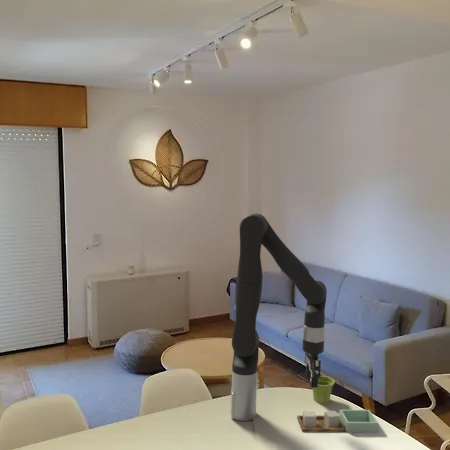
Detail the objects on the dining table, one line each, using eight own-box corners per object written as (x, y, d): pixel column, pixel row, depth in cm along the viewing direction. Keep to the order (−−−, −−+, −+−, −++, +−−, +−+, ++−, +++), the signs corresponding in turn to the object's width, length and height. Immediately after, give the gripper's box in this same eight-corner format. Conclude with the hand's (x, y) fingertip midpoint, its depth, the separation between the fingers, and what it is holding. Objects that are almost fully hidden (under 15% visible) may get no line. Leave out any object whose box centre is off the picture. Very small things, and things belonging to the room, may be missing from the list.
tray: (302, 433, 178) (302, 429, 178) (297, 419, 188) (297, 415, 188) (344, 433, 179) (344, 429, 179) (337, 419, 189) (337, 415, 189)
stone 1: (304, 427, 181) (305, 416, 181) (302, 421, 185) (303, 411, 185) (316, 427, 181) (316, 416, 181) (313, 421, 185) (314, 411, 185)
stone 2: (328, 427, 181) (328, 416, 181) (323, 422, 185) (324, 411, 185) (339, 426, 182) (339, 416, 182) (334, 421, 186) (334, 410, 186)
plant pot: (335, 407, 199) (336, 385, 198) (311, 406, 199) (312, 384, 198) (331, 396, 208) (332, 376, 207) (307, 396, 208) (308, 375, 207)
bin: (346, 433, 178) (347, 422, 178) (339, 420, 188) (339, 409, 188) (377, 433, 179) (378, 422, 178) (368, 420, 189) (369, 409, 188)
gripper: (299, 331, 187) (297, 374, 189) (307, 344, 173) (305, 390, 175) (319, 331, 188) (317, 374, 189) (329, 344, 174) (326, 390, 175)
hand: (311, 382), depth 182 cm, fingers open, 8 cm apart
